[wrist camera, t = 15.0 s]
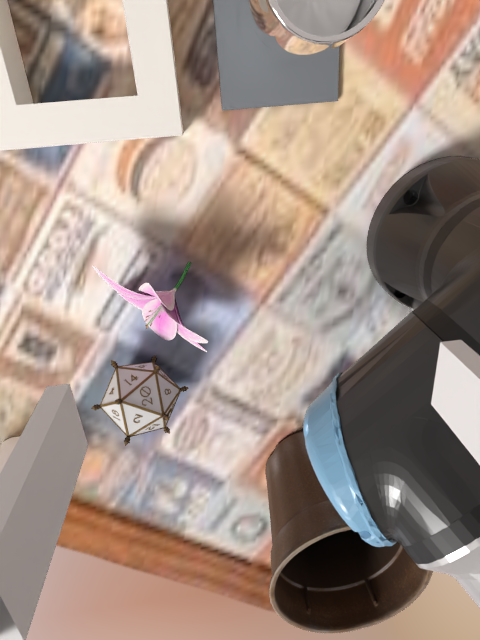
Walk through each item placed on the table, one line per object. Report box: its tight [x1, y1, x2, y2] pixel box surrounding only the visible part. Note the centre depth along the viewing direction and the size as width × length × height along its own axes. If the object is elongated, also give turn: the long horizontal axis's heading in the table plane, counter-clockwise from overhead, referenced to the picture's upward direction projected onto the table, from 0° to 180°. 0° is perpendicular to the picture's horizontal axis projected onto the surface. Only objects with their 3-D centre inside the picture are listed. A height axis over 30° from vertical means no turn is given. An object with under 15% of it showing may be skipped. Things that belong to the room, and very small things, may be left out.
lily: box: [93, 262, 208, 352], centre depth 41 cm, size 12×12×10 cm
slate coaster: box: [213, 0, 339, 110], centre depth 35 cm, size 10×12×1 cm
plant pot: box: [266, 431, 433, 633], centre depth 49 cm, size 16×16×16 cm
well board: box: [0, 0, 184, 151], centre depth 32 cm, size 15×15×4 cm
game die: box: [91, 355, 188, 446], centre depth 45 cm, size 9×8×10 cm
